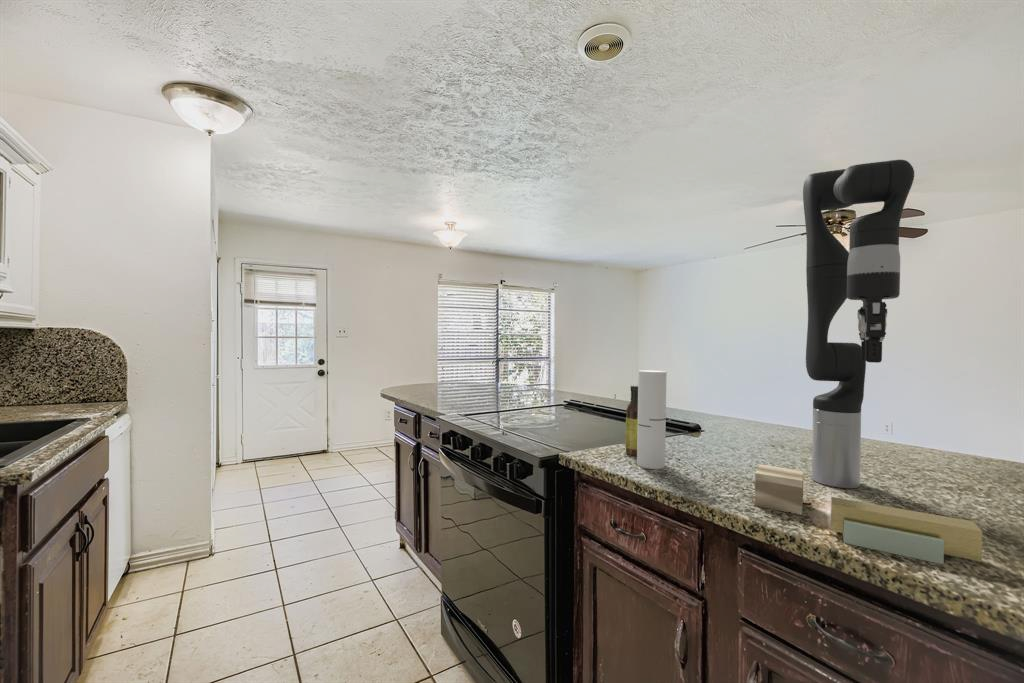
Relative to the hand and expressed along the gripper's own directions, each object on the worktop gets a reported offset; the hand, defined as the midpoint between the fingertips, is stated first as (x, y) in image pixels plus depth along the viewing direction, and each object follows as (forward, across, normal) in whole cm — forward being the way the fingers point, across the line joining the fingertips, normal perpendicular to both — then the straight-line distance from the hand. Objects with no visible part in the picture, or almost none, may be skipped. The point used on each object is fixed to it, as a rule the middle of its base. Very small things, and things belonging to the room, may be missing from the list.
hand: (870, 361), depth 81 cm
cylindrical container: (+30, +14, +44) cm, 55 cm away
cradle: (+30, -9, -2) cm, 31 cm away
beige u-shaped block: (+30, +1, +14) cm, 33 cm away
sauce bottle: (+30, +23, +51) cm, 64 cm away
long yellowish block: (+26, -9, -3) cm, 28 cm away
